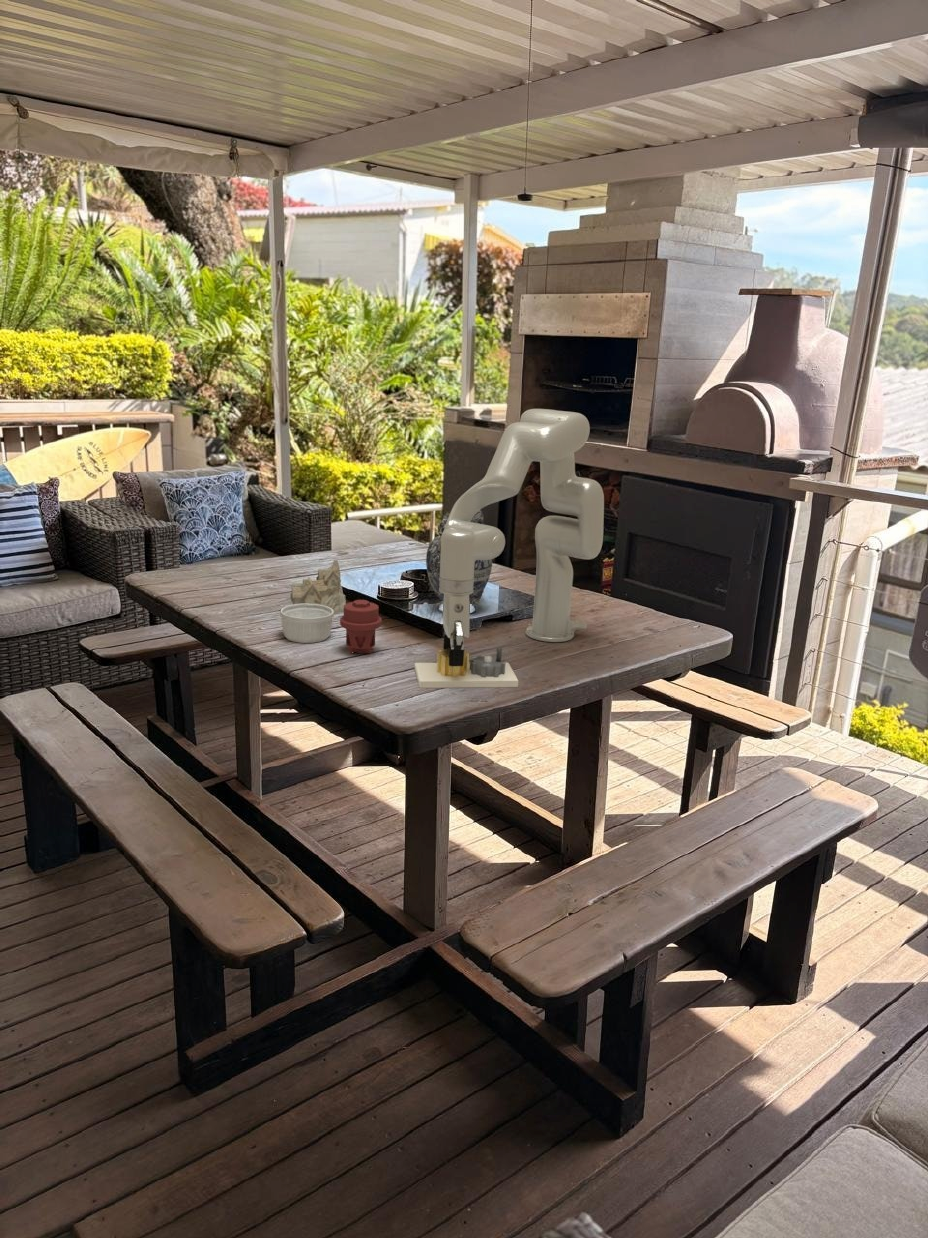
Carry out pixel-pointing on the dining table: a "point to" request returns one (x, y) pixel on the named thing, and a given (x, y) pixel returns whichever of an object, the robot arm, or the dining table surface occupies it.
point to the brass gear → (451, 670)
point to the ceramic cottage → (321, 590)
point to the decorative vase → (433, 563)
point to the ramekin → (307, 622)
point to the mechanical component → (360, 625)
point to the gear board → (470, 674)
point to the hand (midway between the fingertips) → (453, 658)
